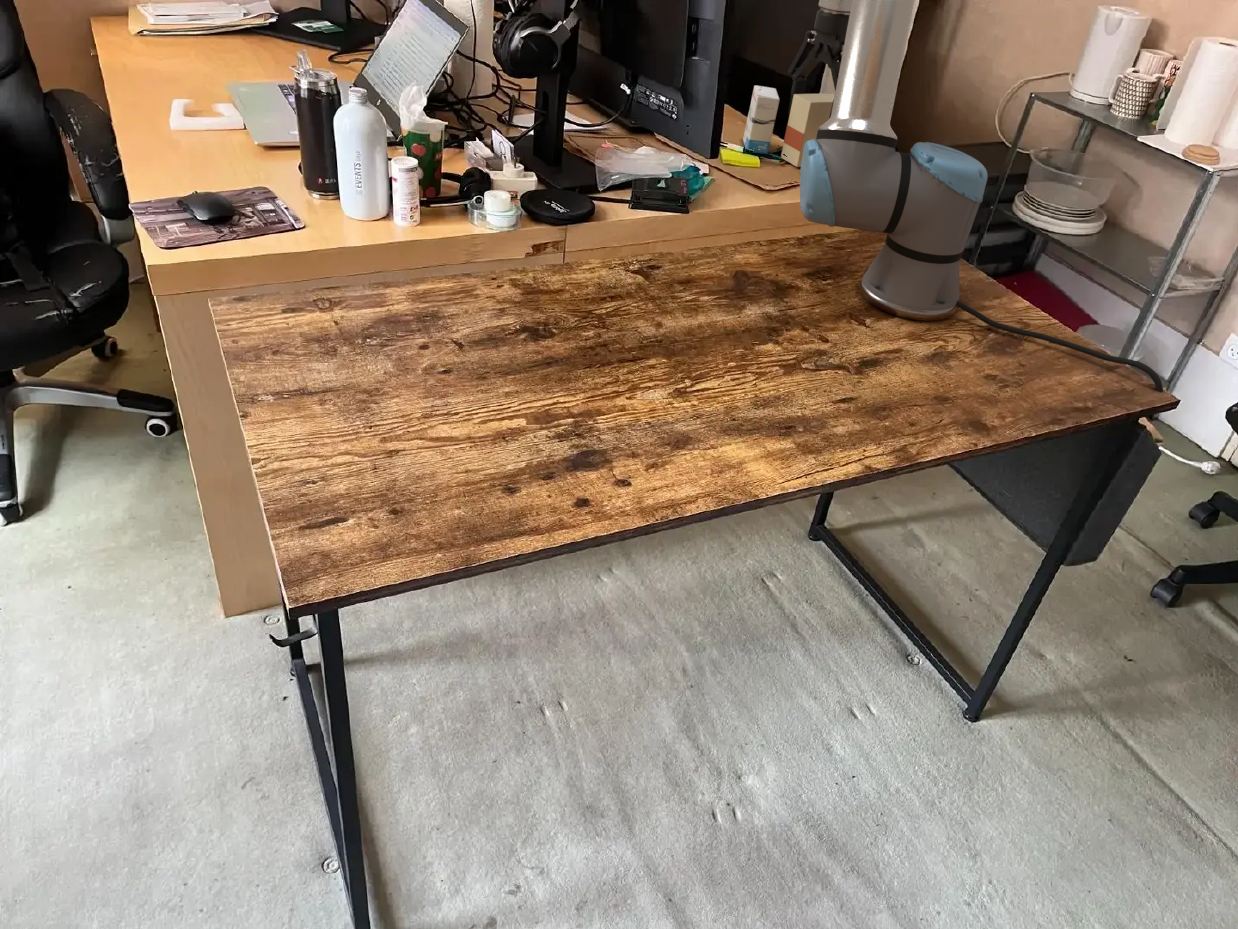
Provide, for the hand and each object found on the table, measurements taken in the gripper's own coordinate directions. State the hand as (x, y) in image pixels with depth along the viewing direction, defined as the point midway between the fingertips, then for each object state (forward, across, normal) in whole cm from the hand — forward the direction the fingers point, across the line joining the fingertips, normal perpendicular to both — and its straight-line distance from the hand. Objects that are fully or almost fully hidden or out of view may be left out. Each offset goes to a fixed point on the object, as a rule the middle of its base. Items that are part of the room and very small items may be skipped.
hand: (812, 123), depth 187 cm
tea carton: (+1, 0, -1) cm, 2 cm away
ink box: (+8, +10, +6) cm, 14 cm away
